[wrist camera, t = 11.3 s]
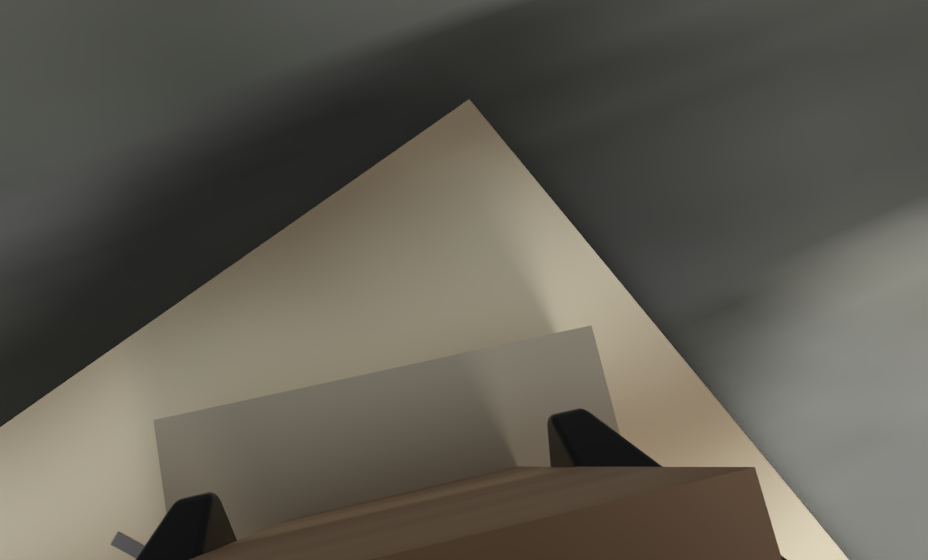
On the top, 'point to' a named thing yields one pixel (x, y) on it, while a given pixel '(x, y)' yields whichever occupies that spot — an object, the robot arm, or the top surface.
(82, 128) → the top surface
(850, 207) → the top surface
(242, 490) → the block
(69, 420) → the plywood board
